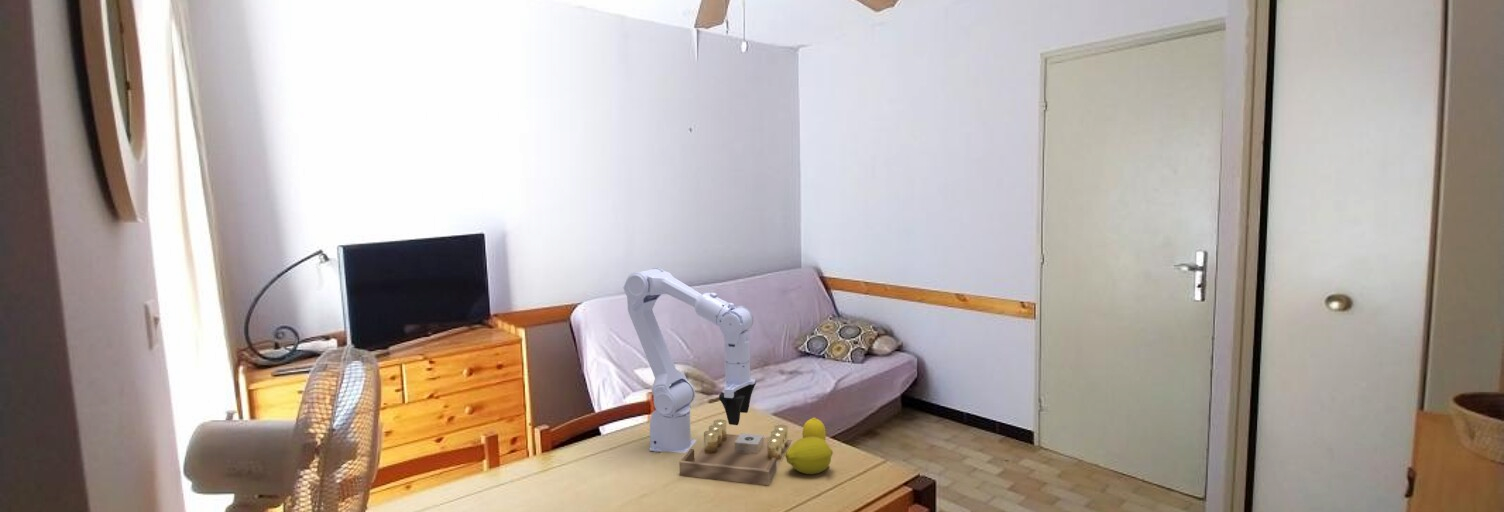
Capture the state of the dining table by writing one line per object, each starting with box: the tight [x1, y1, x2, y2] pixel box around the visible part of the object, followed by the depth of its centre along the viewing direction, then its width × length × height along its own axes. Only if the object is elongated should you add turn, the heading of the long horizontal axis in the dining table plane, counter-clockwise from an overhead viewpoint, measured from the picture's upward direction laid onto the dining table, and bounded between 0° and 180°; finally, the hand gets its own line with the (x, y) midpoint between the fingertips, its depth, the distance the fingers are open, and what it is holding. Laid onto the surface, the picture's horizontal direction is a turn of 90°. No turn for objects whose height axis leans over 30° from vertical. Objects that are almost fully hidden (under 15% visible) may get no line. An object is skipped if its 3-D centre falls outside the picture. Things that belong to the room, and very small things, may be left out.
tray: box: [678, 433, 793, 487], centre depth 145 cm, size 20×24×4 cm
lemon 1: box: [802, 417, 827, 442], centre depth 149 cm, size 6×6×8 cm
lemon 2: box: [784, 437, 833, 475], centre depth 137 cm, size 11×8×8 cm
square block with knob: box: [735, 432, 765, 454], centre depth 149 cm, size 6×6×2 cm
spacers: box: [703, 418, 789, 460], centre depth 149 cm, size 19×10×4 cm, turn 75°
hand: (738, 418), depth 144 cm, fingers open, 7 cm apart
